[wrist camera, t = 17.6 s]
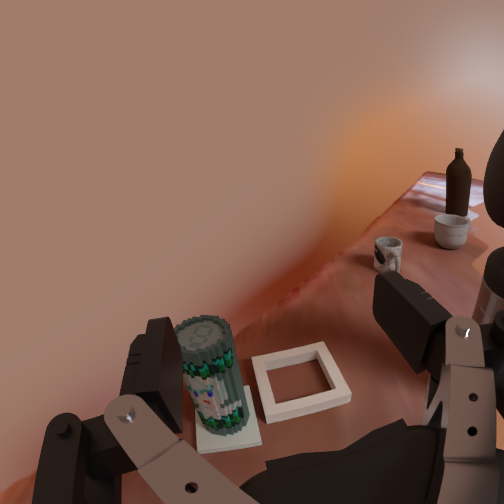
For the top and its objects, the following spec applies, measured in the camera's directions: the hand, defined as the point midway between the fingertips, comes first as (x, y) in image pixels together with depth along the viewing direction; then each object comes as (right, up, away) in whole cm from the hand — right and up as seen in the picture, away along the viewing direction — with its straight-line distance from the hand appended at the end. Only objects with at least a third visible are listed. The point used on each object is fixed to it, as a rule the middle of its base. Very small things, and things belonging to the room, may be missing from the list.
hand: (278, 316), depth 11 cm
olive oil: (+77, +17, +85) cm, 116 cm away
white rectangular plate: (-4, -20, +25) cm, 32 cm away
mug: (+31, -2, +55) cm, 64 cm away
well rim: (+6, -17, +30) cm, 35 cm away
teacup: (+57, +4, +62) cm, 85 cm away
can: (-4, -19, +24) cm, 32 cm away
